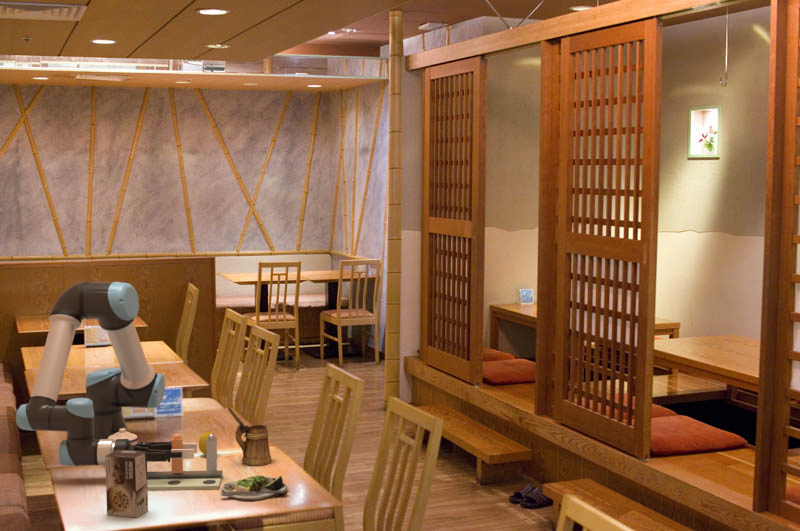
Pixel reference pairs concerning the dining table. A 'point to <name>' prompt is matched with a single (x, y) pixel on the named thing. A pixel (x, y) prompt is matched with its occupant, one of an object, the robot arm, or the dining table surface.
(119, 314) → the robot arm
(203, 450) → the lemon
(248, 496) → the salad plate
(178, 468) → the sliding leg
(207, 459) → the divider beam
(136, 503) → the coffee box
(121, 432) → the teacup with lid
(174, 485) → the hole board
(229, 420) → the dining table surface
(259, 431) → the wooden mug
